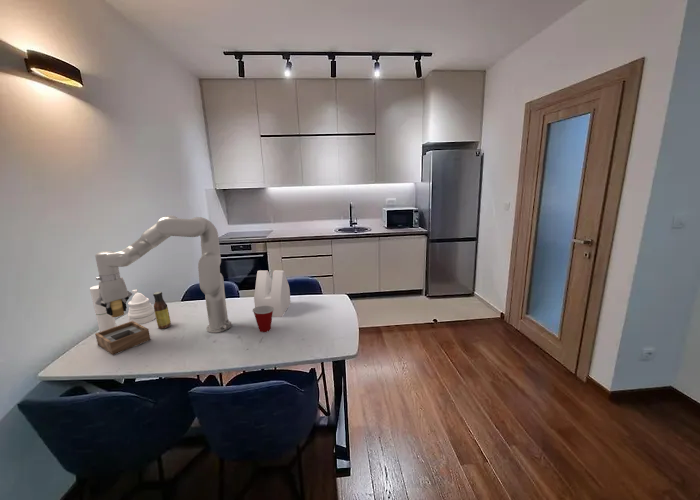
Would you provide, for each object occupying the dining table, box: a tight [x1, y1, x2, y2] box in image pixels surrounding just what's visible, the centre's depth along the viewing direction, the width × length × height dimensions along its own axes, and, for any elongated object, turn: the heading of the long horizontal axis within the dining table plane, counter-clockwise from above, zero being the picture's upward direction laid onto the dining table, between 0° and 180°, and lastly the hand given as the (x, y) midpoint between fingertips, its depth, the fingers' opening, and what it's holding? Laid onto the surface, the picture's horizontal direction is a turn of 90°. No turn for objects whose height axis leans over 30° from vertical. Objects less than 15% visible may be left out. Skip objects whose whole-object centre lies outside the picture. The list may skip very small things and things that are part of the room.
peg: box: [110, 299, 125, 318], centre depth 145 cm, size 5×5×8 cm
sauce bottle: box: [152, 291, 172, 330], centre depth 162 cm, size 6×6×20 cm
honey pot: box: [127, 289, 156, 325], centre depth 172 cm, size 13×13×18 cm
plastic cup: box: [252, 306, 274, 333], centre depth 156 cm, size 11×11×12 cm
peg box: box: [95, 321, 151, 356], centre depth 148 cm, size 18×16×6 cm
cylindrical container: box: [89, 284, 117, 332], centre depth 160 cm, size 7×7×25 cm
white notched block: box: [253, 269, 292, 318], centre depth 179 cm, size 19×15×25 cm
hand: (117, 312), depth 146 cm, fingers closed on peg, 5 cm apart
